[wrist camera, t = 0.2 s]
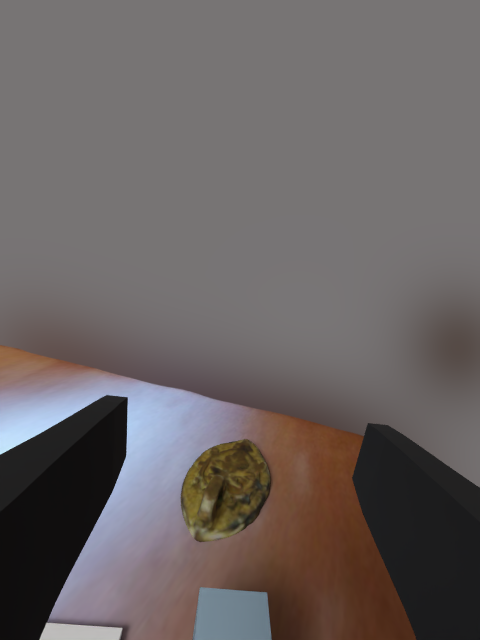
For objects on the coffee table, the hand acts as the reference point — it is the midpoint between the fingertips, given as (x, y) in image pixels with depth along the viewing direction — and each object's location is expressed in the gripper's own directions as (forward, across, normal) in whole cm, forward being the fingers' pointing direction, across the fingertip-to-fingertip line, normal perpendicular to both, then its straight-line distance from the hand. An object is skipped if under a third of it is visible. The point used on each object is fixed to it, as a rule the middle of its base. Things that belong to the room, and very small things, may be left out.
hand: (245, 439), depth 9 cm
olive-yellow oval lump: (+20, -1, +22) cm, 30 cm away
